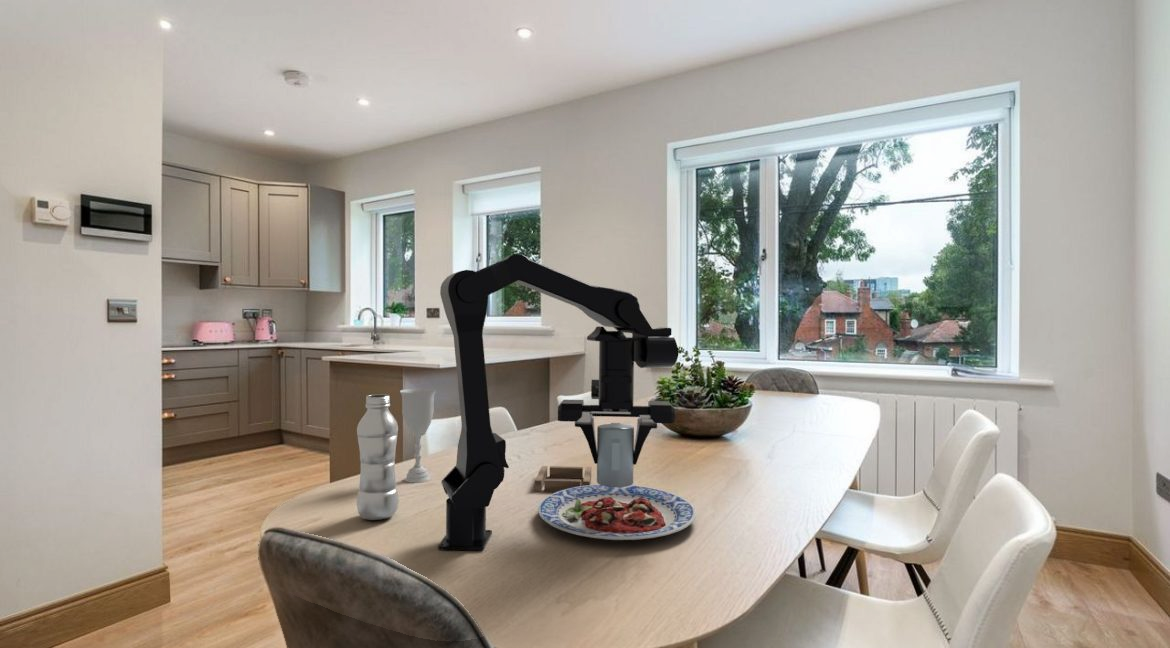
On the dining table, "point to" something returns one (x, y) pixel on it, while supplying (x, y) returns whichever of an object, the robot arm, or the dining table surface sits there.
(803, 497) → the dining table surface
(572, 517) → the ceramic plate
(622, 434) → the jug
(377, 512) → the plastic bottle
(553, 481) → the jug holder
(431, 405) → the chalice
